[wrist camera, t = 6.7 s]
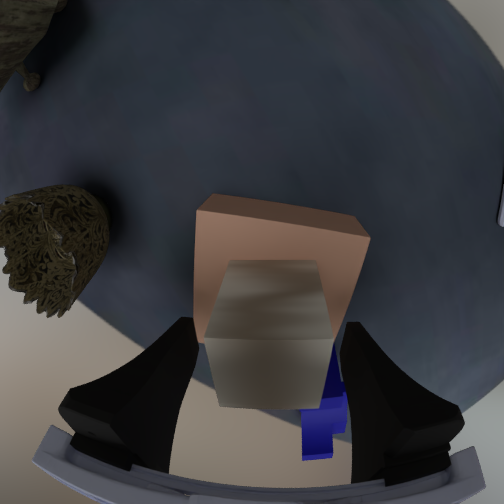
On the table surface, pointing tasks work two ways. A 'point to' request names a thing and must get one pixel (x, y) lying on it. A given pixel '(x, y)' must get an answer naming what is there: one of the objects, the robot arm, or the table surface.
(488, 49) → the table surface
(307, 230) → the terracotta block
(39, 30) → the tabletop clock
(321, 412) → the blue stepped block
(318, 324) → the ivory block
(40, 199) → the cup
